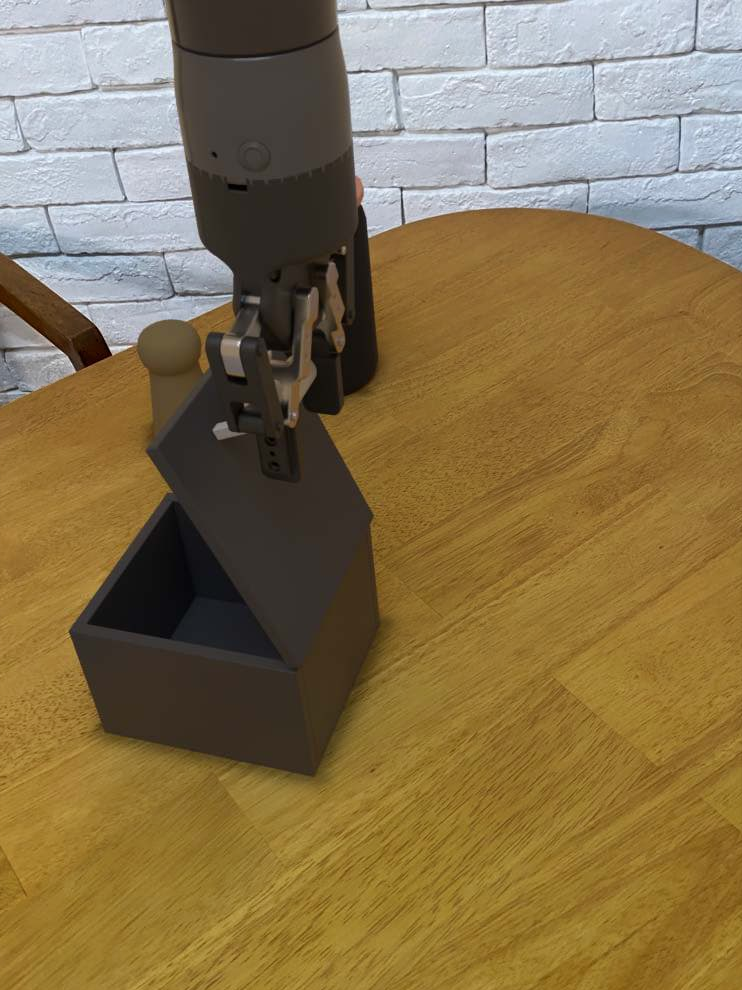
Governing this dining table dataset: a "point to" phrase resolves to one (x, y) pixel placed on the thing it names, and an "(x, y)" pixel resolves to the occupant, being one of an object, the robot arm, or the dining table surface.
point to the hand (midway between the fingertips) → (304, 441)
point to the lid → (266, 512)
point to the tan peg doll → (169, 365)
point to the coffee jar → (359, 313)
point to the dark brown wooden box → (216, 654)
